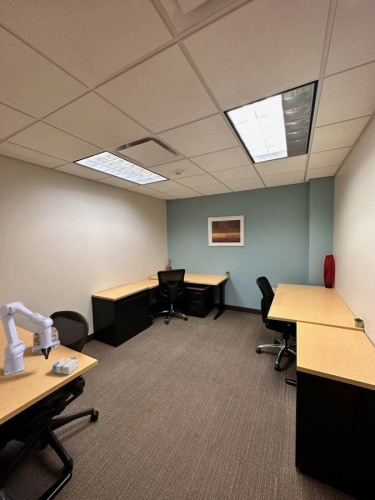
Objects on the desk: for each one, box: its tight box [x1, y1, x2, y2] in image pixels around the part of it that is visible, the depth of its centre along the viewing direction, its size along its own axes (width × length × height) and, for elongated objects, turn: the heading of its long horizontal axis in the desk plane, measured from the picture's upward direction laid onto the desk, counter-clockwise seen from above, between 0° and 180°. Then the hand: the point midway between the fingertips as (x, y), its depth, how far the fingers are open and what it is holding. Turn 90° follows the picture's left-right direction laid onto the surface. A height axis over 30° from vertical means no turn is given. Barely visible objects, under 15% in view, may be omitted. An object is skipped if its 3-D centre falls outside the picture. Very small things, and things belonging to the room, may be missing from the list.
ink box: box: [52, 357, 79, 375], centre depth 130 cm, size 8×5×12 cm
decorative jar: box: [32, 326, 59, 356], centre depth 155 cm, size 12×12×18 cm
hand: (46, 358), depth 129 cm, fingers closed
